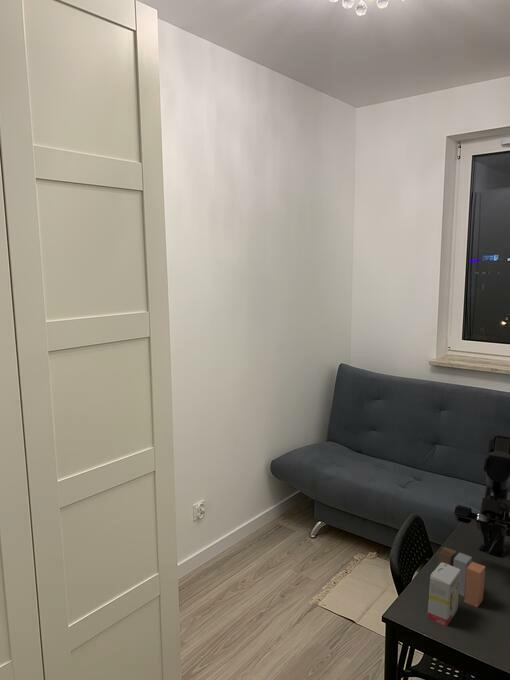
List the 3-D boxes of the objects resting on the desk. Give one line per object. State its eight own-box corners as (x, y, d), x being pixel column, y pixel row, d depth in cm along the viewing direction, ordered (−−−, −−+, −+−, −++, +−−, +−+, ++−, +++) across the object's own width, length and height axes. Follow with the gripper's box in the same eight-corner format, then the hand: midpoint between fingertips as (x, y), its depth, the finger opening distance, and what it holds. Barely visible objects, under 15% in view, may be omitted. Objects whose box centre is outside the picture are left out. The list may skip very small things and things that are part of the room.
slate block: (457, 584, 136) (459, 552, 135) (469, 589, 134) (471, 557, 132) (451, 591, 133) (453, 558, 132) (464, 596, 131) (466, 563, 129)
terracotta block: (469, 594, 131) (472, 561, 130) (482, 599, 129) (485, 566, 128) (464, 601, 128) (466, 568, 127) (477, 607, 126) (480, 573, 125)
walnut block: (442, 578, 138) (444, 547, 137) (454, 583, 136) (456, 551, 135) (436, 585, 135) (438, 552, 134) (448, 590, 133) (450, 557, 132)
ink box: (447, 631, 119) (450, 584, 118) (426, 622, 122) (428, 576, 121) (458, 613, 126) (461, 568, 125) (438, 605, 129) (441, 560, 128)
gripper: (457, 477, 143) (446, 531, 135) (534, 493, 133) (527, 552, 125) (461, 494, 150) (451, 546, 143) (533, 510, 141) (527, 567, 133)
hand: (487, 552), depth 136 cm, fingers closed
